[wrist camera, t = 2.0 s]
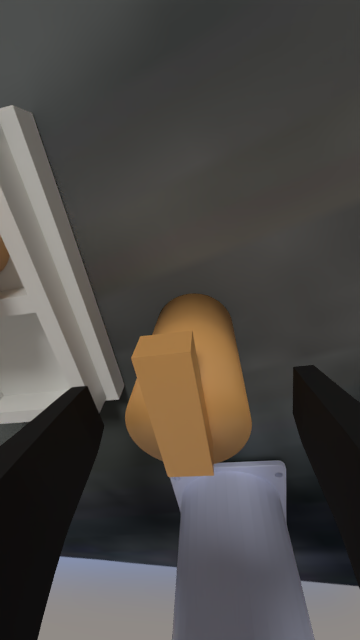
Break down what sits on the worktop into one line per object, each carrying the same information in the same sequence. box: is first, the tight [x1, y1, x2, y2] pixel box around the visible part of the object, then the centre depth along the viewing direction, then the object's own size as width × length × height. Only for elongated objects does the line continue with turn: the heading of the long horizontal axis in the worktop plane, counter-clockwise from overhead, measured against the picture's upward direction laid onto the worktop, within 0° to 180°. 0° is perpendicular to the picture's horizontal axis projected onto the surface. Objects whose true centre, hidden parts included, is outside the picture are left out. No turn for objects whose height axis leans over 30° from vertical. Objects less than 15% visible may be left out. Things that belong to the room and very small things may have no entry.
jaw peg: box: [125, 294, 252, 477], centre depth 11 cm, size 5×4×7 cm
